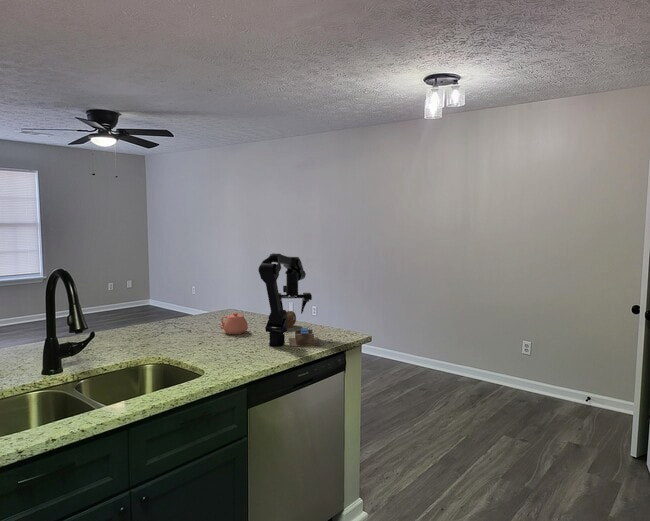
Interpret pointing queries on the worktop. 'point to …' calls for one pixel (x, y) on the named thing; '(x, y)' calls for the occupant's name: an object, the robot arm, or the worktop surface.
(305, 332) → the block
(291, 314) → the tin
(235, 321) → the sugar bowl
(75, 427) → the worktop surface
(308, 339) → the cradle
